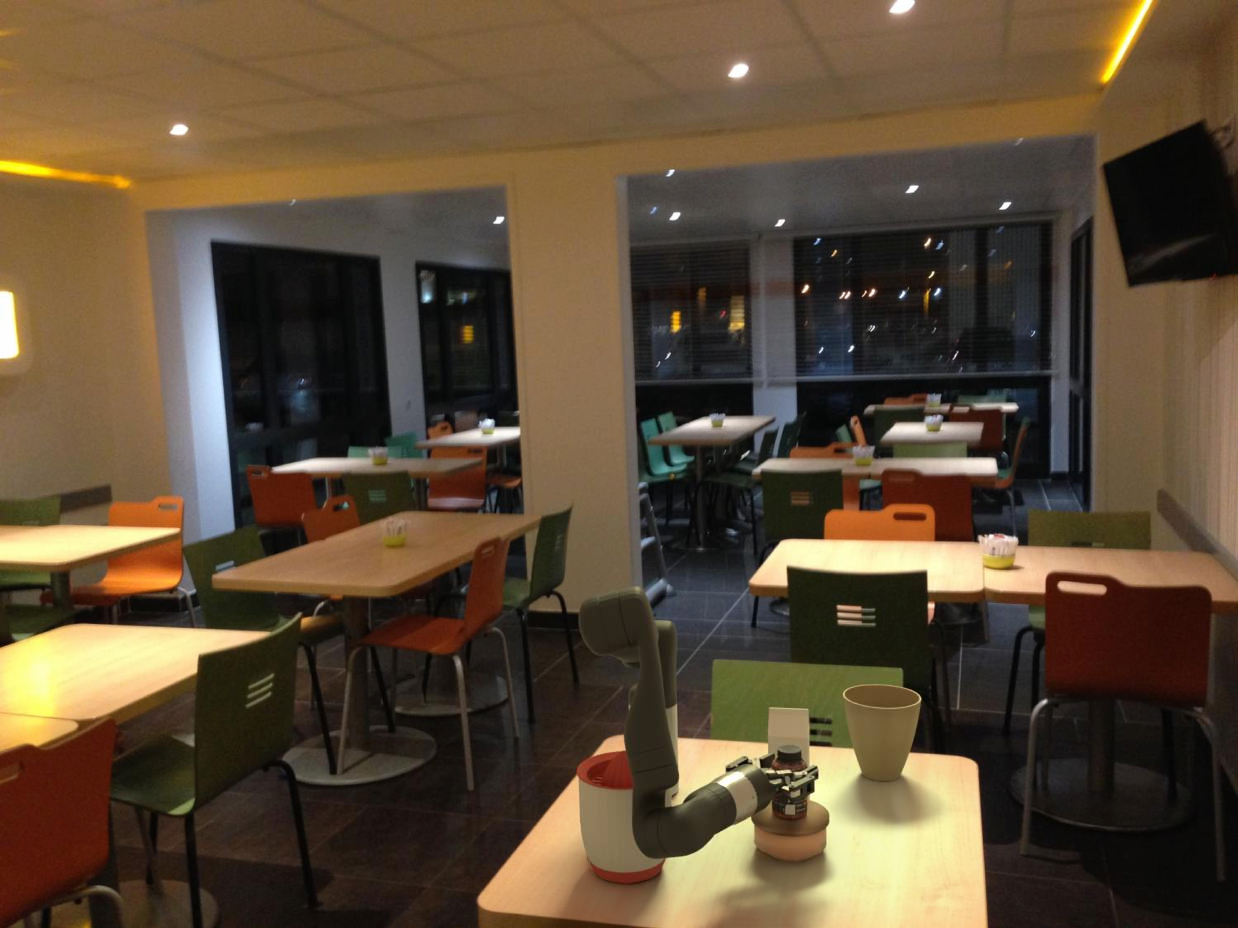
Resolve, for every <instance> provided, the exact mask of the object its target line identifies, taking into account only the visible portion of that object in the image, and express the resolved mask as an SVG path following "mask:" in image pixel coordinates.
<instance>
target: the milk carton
mask: <svg viewBox="0 0 1238 928" xmlns="http://www.w3.org/2000/svg"><path fill="white" fill-rule="evenodd" d="M767 723H768V724H767V725H768V726H767V754H769V753H774V754H775V758H777V757H778V756H777V748H778V747H779V746H781V745H788V744H789V745H796V746H799V747H800V748H801V752H802V756H801V757H802V759H803V760H804V761H805V762H806V763H807V768H808V767H810V766H811V765H810V764H811V763H810V761H811V760H810V716H809V709H808V708H790V707H789V708H788V707H787V708H786V707H768V722H767ZM769 769H771V770H772V767H771V768H769ZM807 799H808V800H811V794H810V795H808V796H807Z"/></svg>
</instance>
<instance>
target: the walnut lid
mask: <svg viewBox="0 0 1238 928" xmlns="http://www.w3.org/2000/svg"><path fill="white" fill-rule="evenodd" d="M750 820H751V822H752V824H753V826H754V825H755V826H756V827H758V828H759V829H761V830H763V831H765V832H768V833H771V834H776V835H781V836H807V835H812V834H815V833H818V832H820V831H822V830H824V829H825V828H826V829H827V828H828V826H829V824H830V812H829V810H828V809H827V808H826V806H824V805H823V804H820V803H819V802H816V801H814V800H811V799H810V800H808V799H807V814H806V815H805V816H804V817H802V818H800V819H794V820H789V819H783V818H780V817H778V816H776V815H775V814H774V813H773V812H772V800H771V802H770V803H769V805H768V806H767V807H766V808H765V809H763V810H762V811H760V812H758V813H756V814H755V815H753V816H751V817H750Z"/></svg>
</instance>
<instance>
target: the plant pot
mask: <svg viewBox="0 0 1238 928" xmlns="http://www.w3.org/2000/svg"><path fill="white" fill-rule="evenodd" d="M842 696H843V697H842V698H843V699H842V700H843V705H844V713H845V718H846V724H847V728H848V732H849V736H850V737H849V738H850V740H851V744H852V748H853V751H854V754H855V757H856V761H857V763H858V765H859V769H860V771H861V774H862V775H863V777H865V778H866V779H867V778H868V779H869V780H872V781H873V780H874V781H878V782H890V781H892V782H893V781H896V780H898V779H899V778H901V776H902V773H903V771H904V768H905V766H906V763H907V760H908V758H909V755H910V752H911V748H912V745H913V743H914V738H915V734H916V730H917V727H918V721H919V716H920V711H921V703H922V697H921V695H920V694H919V693H918V692H916V691H914V690H912V689H909V688H906V687H902V686H897V685H889V684H877V683H876V684H874V683H873V684H859V685H854V686H852V687H848V688H846V689H845V690H844V691H843V692H842Z"/></svg>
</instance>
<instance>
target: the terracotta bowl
mask: <svg viewBox="0 0 1238 928" xmlns="http://www.w3.org/2000/svg"><path fill="white" fill-rule="evenodd" d="M753 829H754V830H753V837H754V839H753V841H754V844H755V846H756V847H757V849H758V850H760V851H761V852H763V853H765V854H767V855H769V856H771V858H774V859H776V860H780V861H784V862H803V861H805V860H808V859H810V858H812V857H814V856H817V855H819V854H821V853H822V852H823V851H825V849H826V848H827V842H828V841H827V827H826V828H825V829H824V830H822V831H820V832H818V833H815V834H812V835H807V836H781V835H776V834H771V833H768V832H765V831H763V830H761V829H759V828H758V827H756V826H755V825H754V824H753Z"/></svg>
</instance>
